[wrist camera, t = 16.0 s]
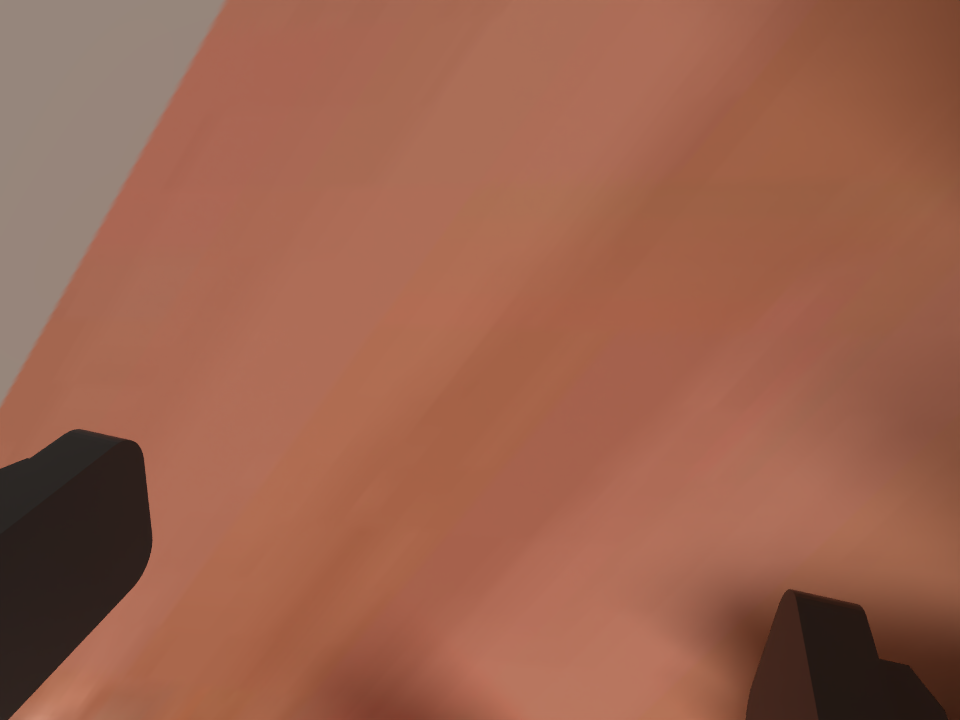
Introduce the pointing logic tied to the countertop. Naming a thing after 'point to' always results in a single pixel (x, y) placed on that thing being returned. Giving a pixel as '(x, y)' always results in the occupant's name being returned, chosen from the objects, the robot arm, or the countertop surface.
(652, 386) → the countertop surface
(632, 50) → the countertop surface
